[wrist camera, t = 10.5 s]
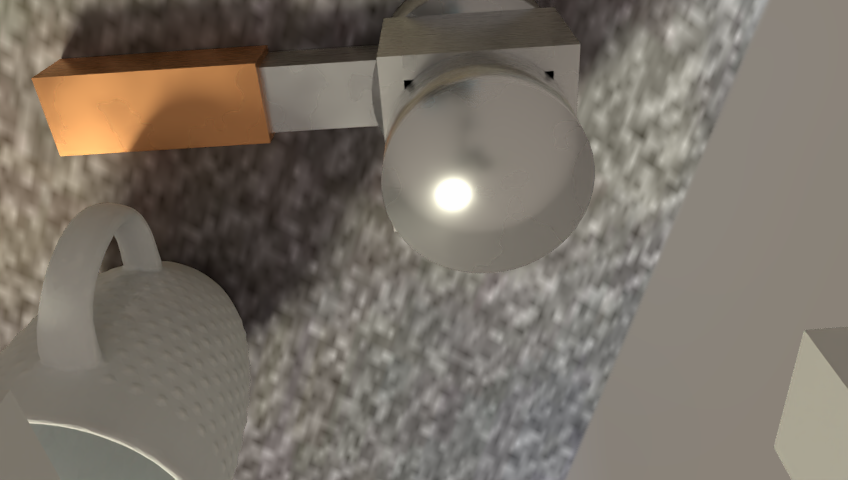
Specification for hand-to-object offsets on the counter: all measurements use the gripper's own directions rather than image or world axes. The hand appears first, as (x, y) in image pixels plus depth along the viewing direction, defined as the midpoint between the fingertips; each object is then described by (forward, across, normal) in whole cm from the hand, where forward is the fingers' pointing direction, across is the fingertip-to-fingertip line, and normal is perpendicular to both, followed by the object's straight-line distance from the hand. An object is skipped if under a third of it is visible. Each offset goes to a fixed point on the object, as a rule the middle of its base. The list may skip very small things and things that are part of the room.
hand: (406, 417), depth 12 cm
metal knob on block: (+18, +2, -1) cm, 18 cm away
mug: (+21, -14, -12) cm, 28 cm away
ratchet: (+21, -4, -1) cm, 22 cm away
